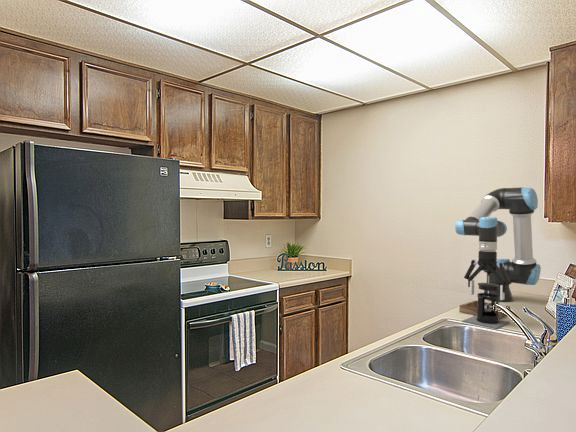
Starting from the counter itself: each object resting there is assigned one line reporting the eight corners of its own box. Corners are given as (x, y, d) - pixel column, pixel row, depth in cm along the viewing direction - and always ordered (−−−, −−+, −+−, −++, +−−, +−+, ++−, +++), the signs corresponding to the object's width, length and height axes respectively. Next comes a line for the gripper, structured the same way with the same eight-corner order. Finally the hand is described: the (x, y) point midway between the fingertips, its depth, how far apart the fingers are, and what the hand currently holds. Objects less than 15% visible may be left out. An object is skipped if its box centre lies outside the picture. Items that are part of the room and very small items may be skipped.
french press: (484, 317, 196) (485, 268, 195) (504, 321, 188) (505, 271, 187) (470, 320, 189) (471, 270, 189) (489, 325, 181) (490, 273, 181)
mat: (477, 316, 199) (477, 315, 199) (510, 323, 188) (510, 321, 188) (462, 321, 189) (462, 320, 189) (496, 329, 178) (496, 327, 178)
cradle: (475, 306, 218) (475, 300, 218) (510, 313, 205) (510, 306, 205) (459, 312, 207) (459, 305, 207) (495, 319, 194) (495, 312, 194)
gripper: (457, 248, 195) (456, 293, 195) (513, 253, 176) (512, 303, 177) (464, 248, 200) (463, 291, 200) (520, 252, 181) (519, 300, 181)
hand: (486, 297), depth 188 cm, fingers open, 13 cm apart
